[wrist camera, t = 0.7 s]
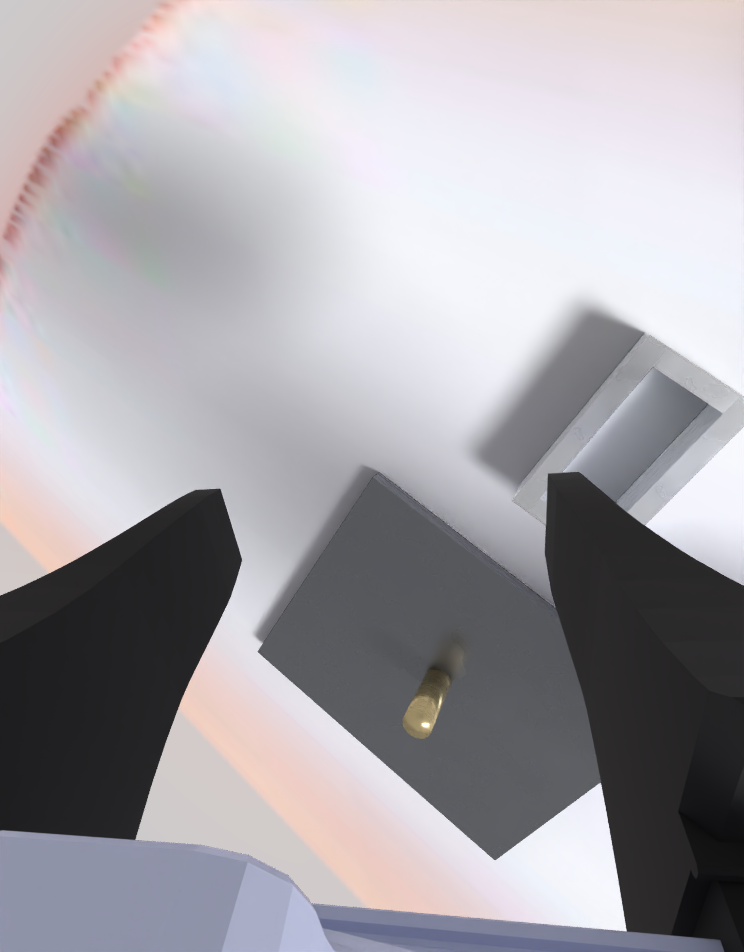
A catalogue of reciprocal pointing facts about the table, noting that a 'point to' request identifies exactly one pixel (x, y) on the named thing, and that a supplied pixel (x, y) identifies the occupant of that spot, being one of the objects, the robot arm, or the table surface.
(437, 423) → the table surface
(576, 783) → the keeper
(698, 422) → the link
